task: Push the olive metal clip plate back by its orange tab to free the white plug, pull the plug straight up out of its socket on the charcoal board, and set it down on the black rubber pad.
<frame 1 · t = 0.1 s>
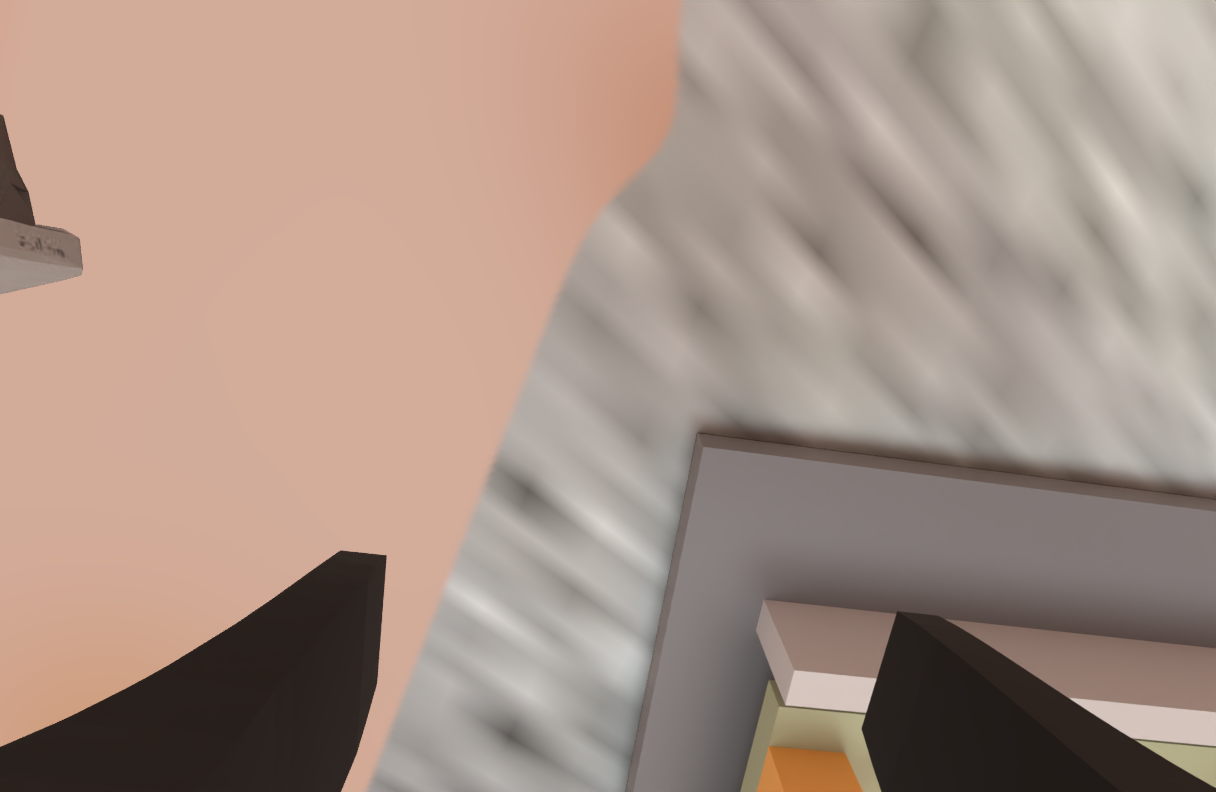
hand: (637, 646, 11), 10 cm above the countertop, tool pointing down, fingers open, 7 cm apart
socket board: (1133, 780, 25), on the countertop
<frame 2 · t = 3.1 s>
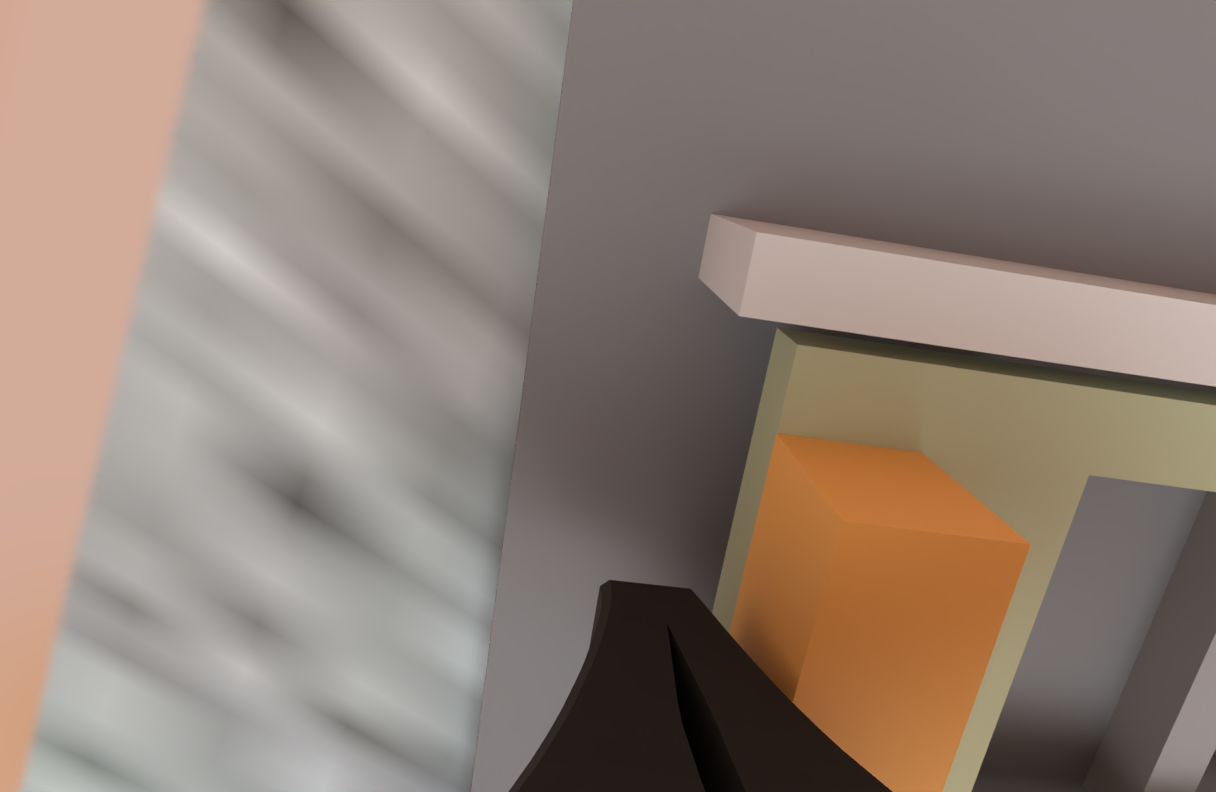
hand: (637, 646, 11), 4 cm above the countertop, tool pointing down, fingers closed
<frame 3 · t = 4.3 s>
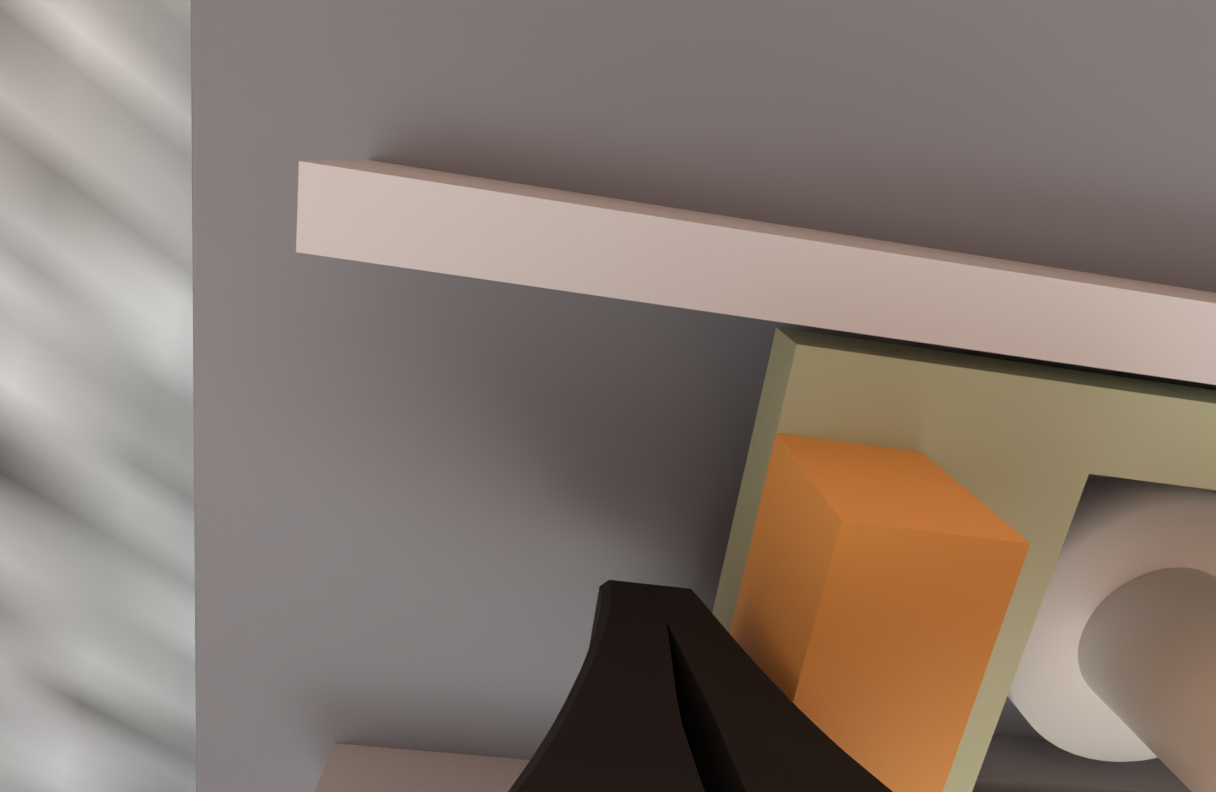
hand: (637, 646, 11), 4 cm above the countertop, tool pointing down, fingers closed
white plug: (1110, 600, 14), point 1 cm above the countertop, touching socket board
socket board: (1076, 572, 15), on the countertop
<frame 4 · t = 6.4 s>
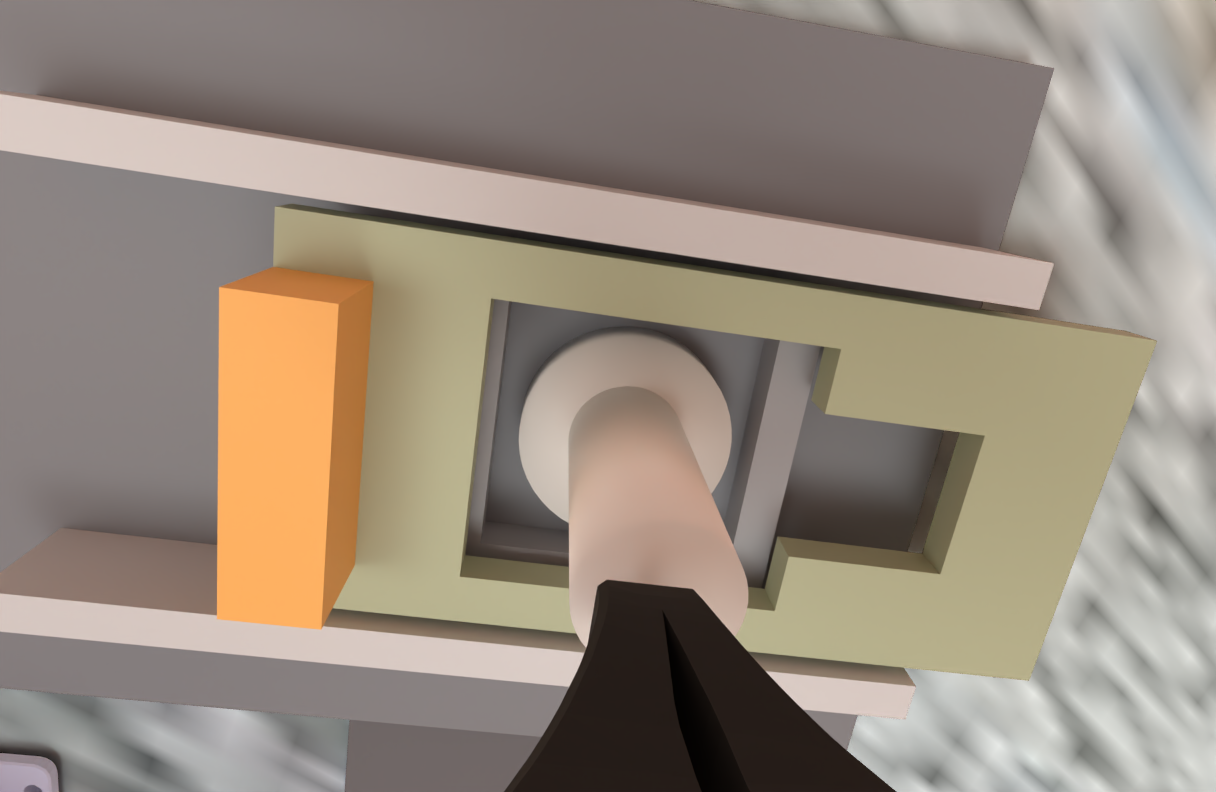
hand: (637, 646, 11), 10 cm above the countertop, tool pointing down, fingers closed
clip plate: (706, 487, 16), point 4 cm above the countertop, slide at 6.1 cm
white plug: (622, 424, 20), point 1 cm above the countertop, touching socket board
socket board: (619, 412, 21), on the countertop
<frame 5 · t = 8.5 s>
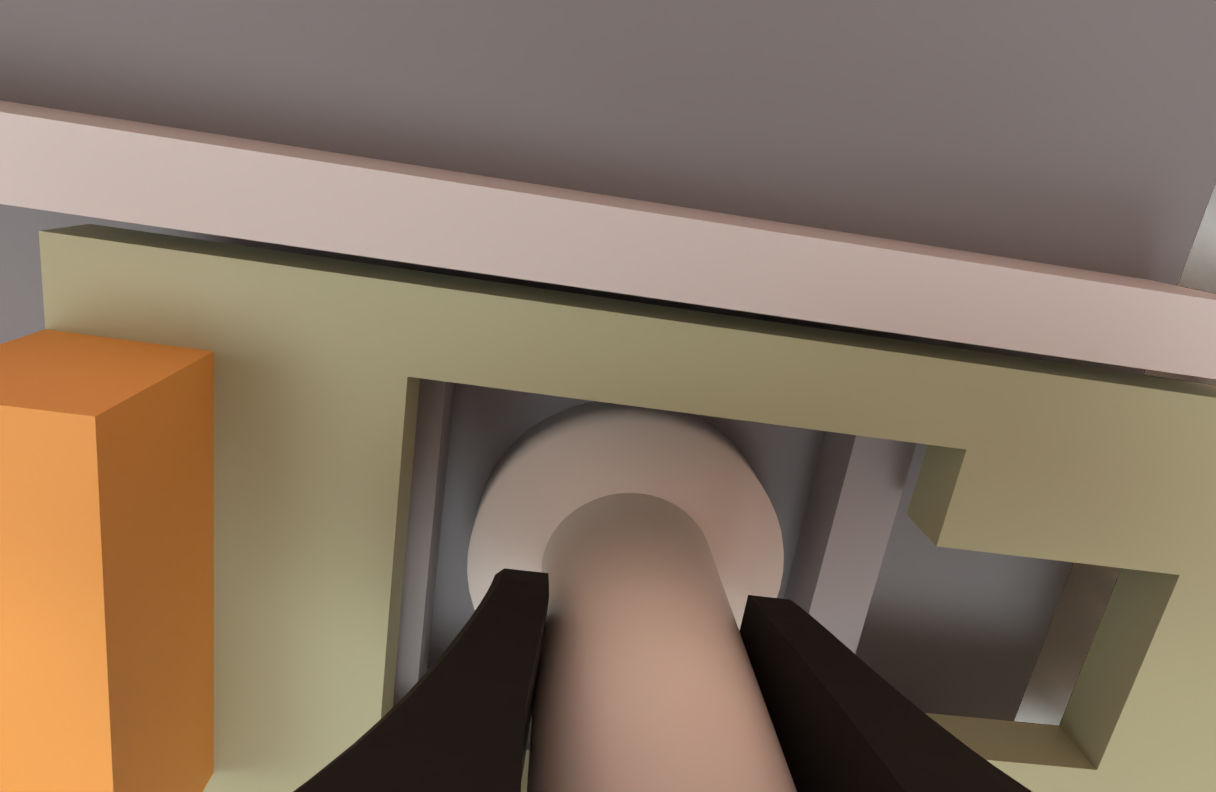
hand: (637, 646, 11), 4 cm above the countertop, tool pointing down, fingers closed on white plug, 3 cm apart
clip plate: (753, 668, 10), point 4 cm above the countertop, slide at 6.1 cm
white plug: (622, 536, 14), point 1 cm above the countertop, touching gripper, socket board
socket board: (618, 511, 15), on the countertop
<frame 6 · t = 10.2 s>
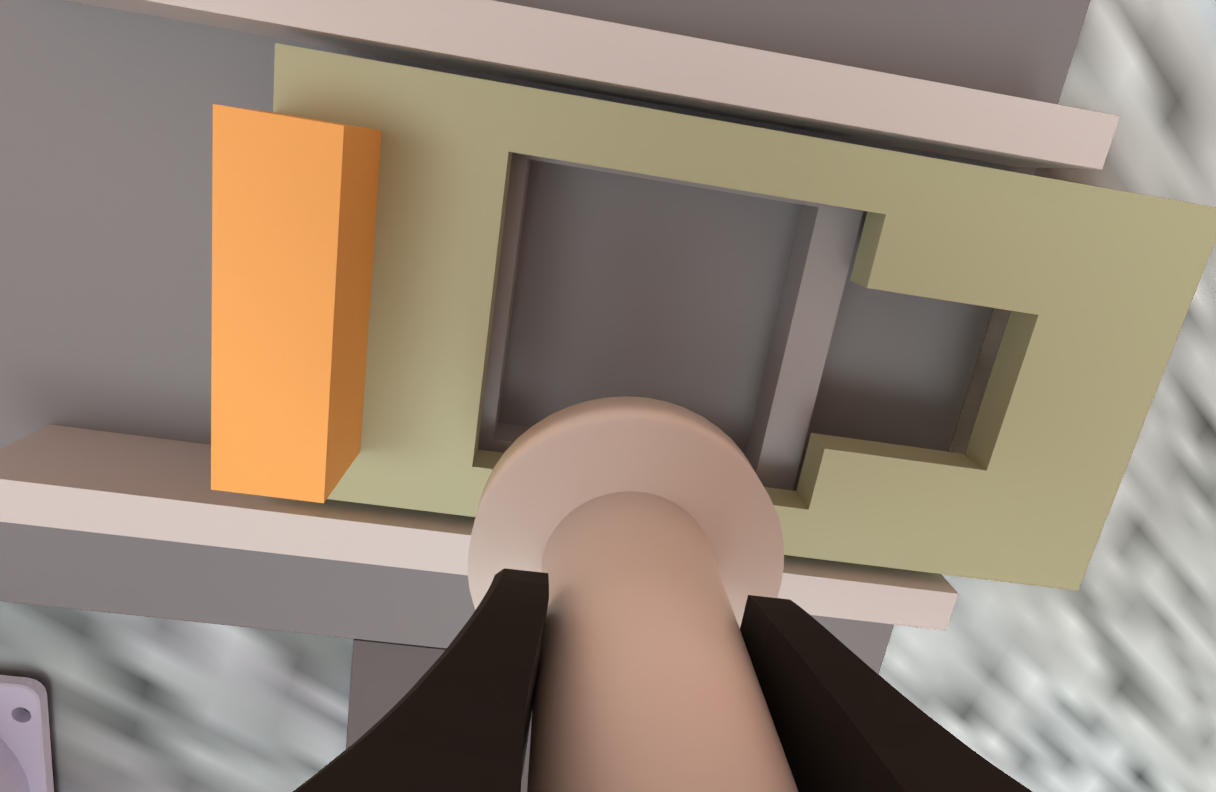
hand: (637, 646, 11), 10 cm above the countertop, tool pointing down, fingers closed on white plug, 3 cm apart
rubber pad: (495, 770, 24), on the countertop
clip plate: (738, 363, 15), point 4 cm above the countertop, slide at 6.1 cm
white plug: (622, 534, 14), point 7 cm above the countertop, touching gripper
socket board: (641, 308, 19), on the countertop
when the fingers open (5 cm above the countertop, at t = 12.0 s): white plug drops 1 cm, resting on rubber pad.
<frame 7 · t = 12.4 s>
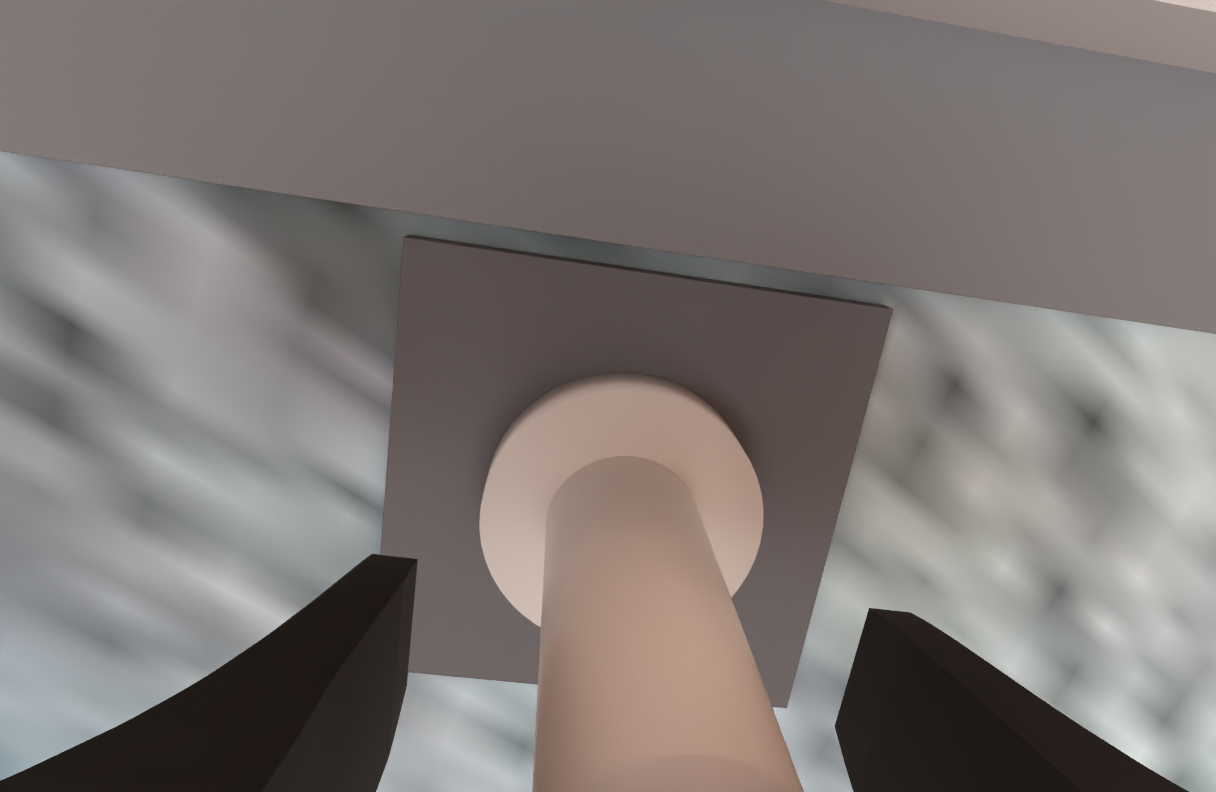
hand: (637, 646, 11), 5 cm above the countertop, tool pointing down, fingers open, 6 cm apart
rubber pad: (615, 491, 15), on the countertop
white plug: (618, 498, 15), resting on rubber pad
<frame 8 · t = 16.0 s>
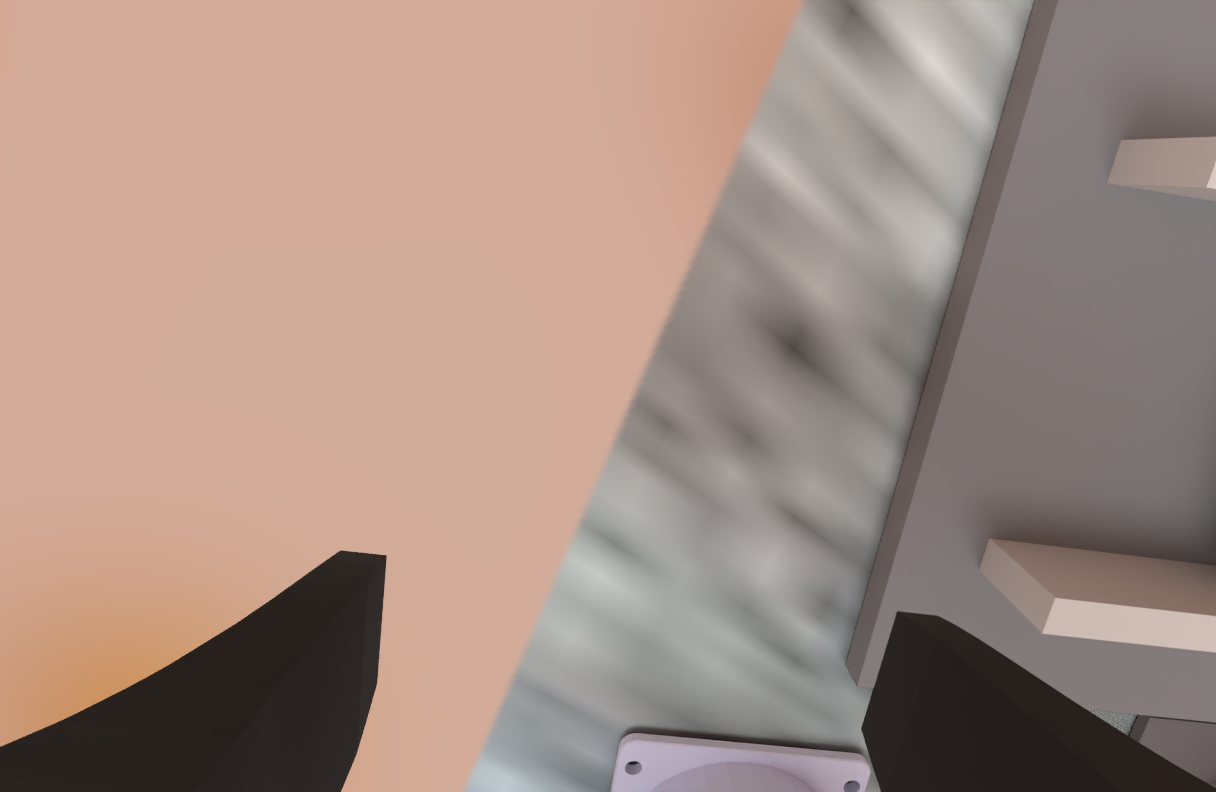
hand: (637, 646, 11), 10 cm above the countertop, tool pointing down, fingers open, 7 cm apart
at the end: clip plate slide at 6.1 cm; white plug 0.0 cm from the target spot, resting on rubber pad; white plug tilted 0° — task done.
